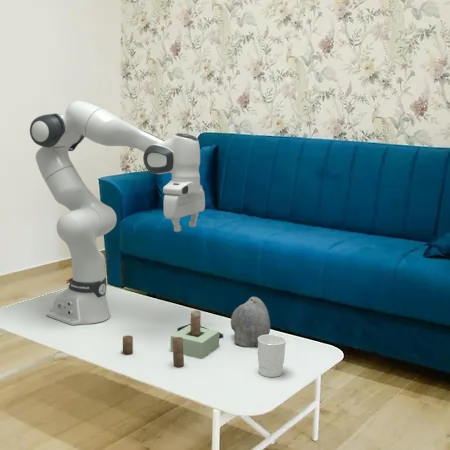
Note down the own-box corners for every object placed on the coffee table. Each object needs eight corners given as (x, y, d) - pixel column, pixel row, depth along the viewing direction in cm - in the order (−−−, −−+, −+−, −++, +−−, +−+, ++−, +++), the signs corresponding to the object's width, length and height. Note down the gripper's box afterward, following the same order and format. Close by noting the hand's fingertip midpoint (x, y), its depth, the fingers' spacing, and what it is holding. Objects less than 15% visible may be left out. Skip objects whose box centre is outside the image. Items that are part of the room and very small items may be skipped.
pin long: (188, 349, 193) (188, 312, 191) (193, 346, 196) (193, 309, 194) (197, 351, 192) (197, 314, 190) (201, 348, 195) (202, 311, 192)
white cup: (289, 372, 179) (291, 339, 177) (273, 381, 173) (274, 346, 171) (268, 364, 184) (269, 332, 182) (250, 372, 178) (252, 339, 176)
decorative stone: (220, 340, 201) (221, 296, 198) (238, 331, 209) (240, 288, 206) (260, 352, 192) (262, 305, 190) (277, 342, 201) (279, 297, 198)
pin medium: (172, 366, 180) (171, 340, 179) (175, 362, 183) (174, 336, 182) (182, 367, 180) (181, 341, 178) (185, 363, 183) (184, 337, 181)
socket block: (170, 351, 191) (170, 335, 191) (188, 339, 201) (188, 325, 200) (201, 358, 187) (202, 342, 186) (219, 346, 196) (219, 331, 195)
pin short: (120, 353, 189) (120, 337, 188) (126, 350, 192) (126, 334, 191) (128, 355, 188) (128, 339, 187) (134, 352, 190) (134, 336, 189)
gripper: (193, 181, 208) (192, 222, 211) (159, 188, 190) (159, 233, 193) (210, 183, 205) (209, 224, 208) (177, 190, 187) (177, 235, 190)
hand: (185, 228), depth 200 cm, fingers open, 8 cm apart
